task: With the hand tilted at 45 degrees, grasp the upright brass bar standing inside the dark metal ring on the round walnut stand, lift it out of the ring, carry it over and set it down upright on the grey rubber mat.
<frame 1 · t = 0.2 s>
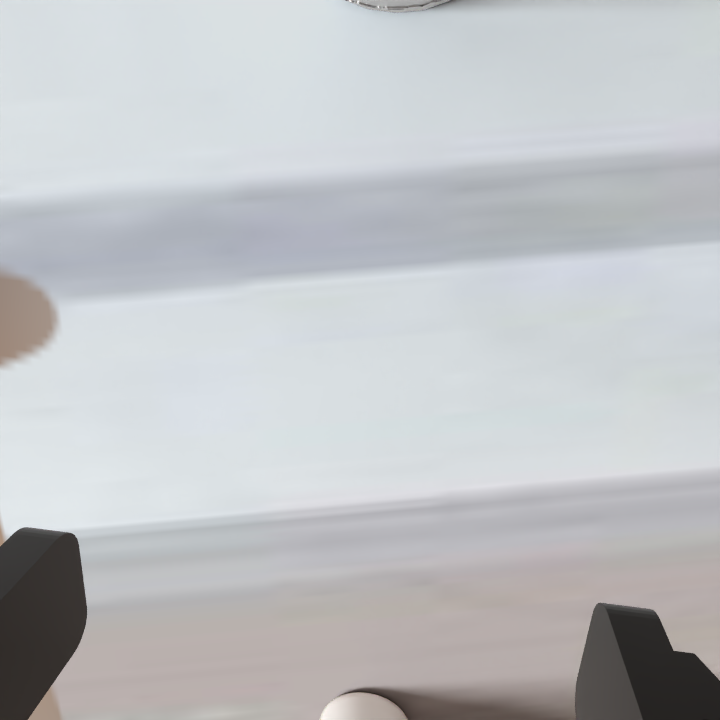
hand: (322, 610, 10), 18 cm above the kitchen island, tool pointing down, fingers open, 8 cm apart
drinking glass: (366, 715, 37), on the kitchen island
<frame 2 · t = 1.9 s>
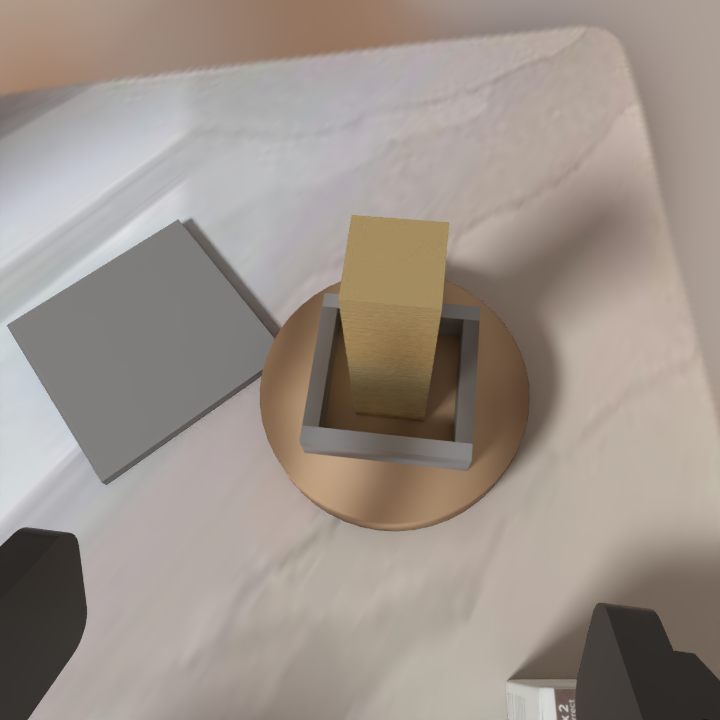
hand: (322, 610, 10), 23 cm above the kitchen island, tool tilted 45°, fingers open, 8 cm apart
brass bar: (393, 386, 33), point 2 cm above the kitchen island, touching ring stand
mat: (147, 343, 37), on the kitchen island
ring stand: (393, 402, 35), on the kitchen island
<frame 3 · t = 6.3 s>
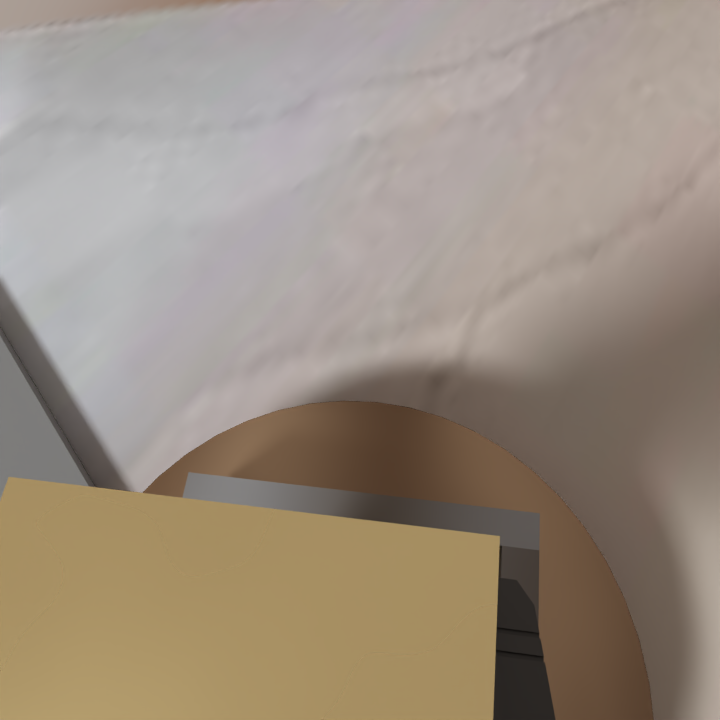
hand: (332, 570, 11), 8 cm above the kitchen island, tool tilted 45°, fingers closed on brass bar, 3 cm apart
brass bar: (341, 684, 15), point 3 cm above the kitchen island, touching gripper, ring stand
ring stand: (348, 678, 17), on the kitchen island
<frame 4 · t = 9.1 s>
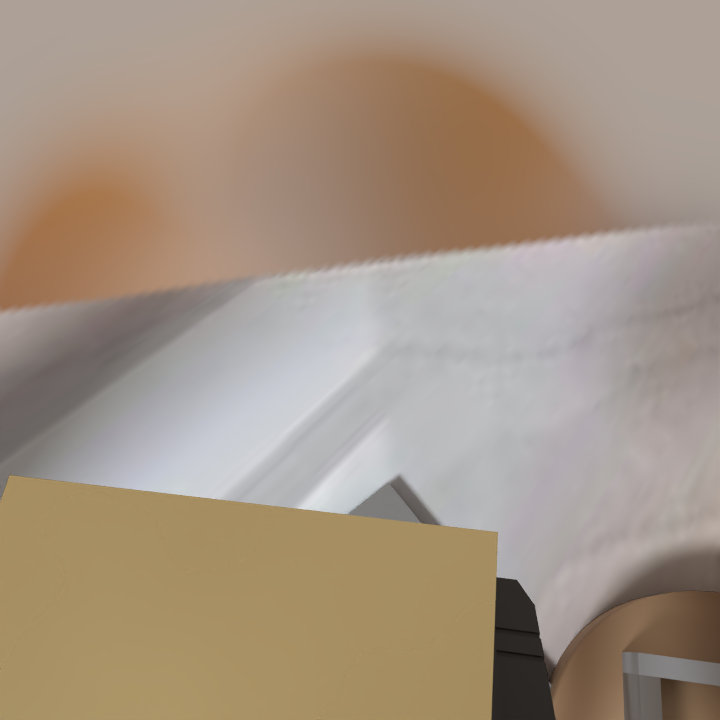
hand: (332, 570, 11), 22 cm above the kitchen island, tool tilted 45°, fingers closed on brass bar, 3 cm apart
brass bar: (341, 684, 15), point 16 cm above the kitchen island, touching gripper
mat: (369, 663, 30), on the kitchen island
when the fingers open (8 cm above the kitchen island, at t = 12.0 s): brass bar drops 2 cm, resting on mat.
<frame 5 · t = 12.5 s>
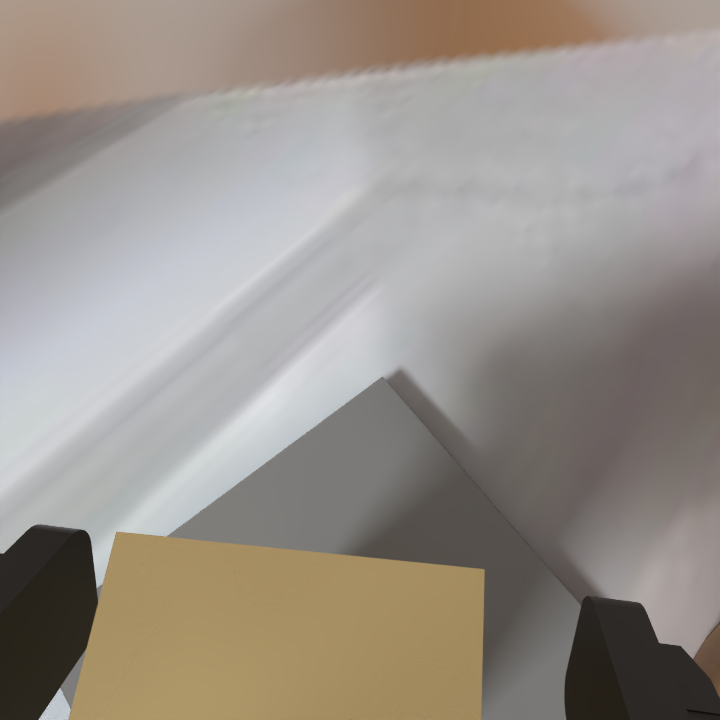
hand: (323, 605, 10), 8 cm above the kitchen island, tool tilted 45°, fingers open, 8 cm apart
brass bar: (352, 683, 16), point 1 cm above the kitchen island, touching mat
mat: (346, 679, 17), on the kitchen island
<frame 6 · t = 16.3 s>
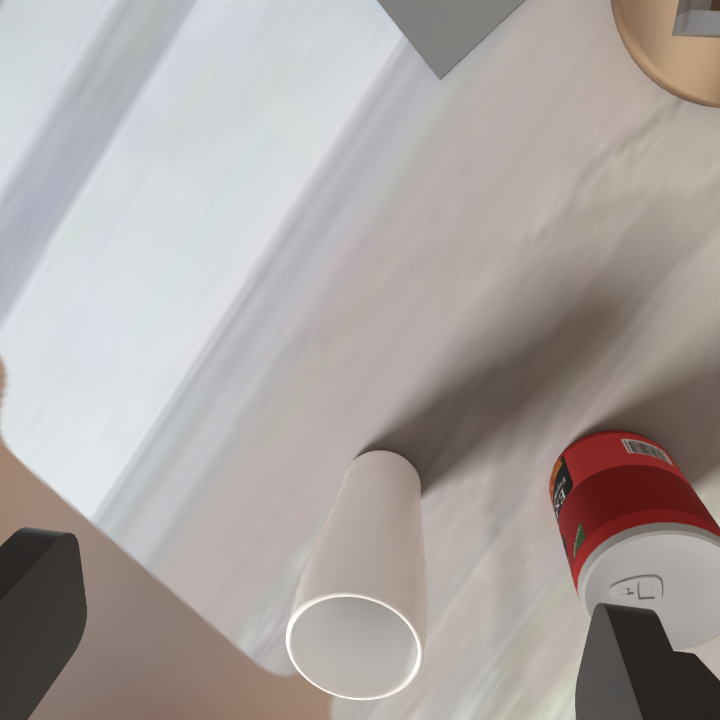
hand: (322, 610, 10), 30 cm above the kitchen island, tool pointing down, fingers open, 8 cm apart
canned food: (608, 476, 42), on the kitchen island
drinking glass: (382, 479, 44), on the kitchen island
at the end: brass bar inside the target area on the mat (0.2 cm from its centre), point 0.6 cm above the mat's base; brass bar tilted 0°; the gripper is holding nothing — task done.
